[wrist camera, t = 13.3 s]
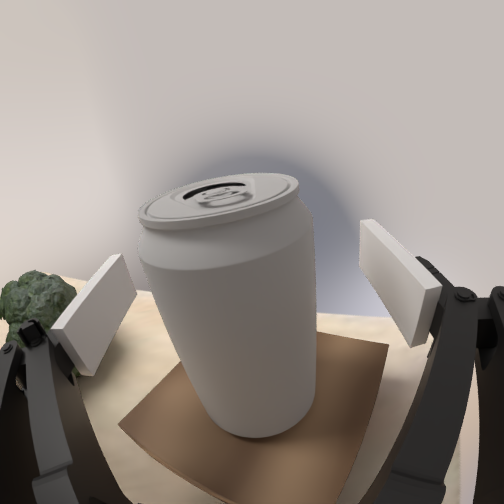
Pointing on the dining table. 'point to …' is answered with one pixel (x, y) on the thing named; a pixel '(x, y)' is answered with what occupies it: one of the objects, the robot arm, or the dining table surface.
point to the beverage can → (237, 295)
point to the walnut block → (273, 447)
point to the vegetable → (35, 302)
